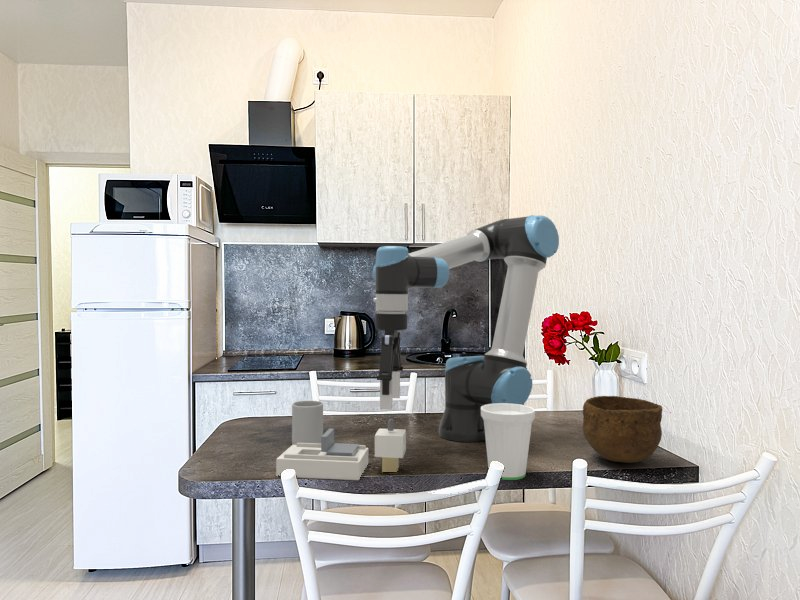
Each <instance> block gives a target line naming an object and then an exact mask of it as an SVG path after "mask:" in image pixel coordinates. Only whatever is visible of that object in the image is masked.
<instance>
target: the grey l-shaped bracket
mask: <svg viewBox="0 0 800 600" xmlns="http://www.w3.org/2000/svg"><path fill="white" fill-rule="evenodd" d="M359 445H360V444H359V443H339V442H335V428H328V429H327V430H326V431H325V432H323V435H322V436H321V452H326V455H330V456H354V455H355V454H356V452H357V451H358V449H359Z"/></svg>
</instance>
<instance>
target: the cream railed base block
mask: <svg viewBox="0 0 800 600" xmlns="http://www.w3.org/2000/svg"><path fill="white" fill-rule="evenodd" d="M275 463H276V464H275V465H276V466H275V468H276V471H275V473H276V477H278V475H279V476H280V473H281V472H282V471H284V470H286V469H294V470H295V471H296V475H297V477H296V478H303V479H320V480H321V479H323V480H345V481H360V479H361V478H360V477H362V476H363V474H364V472H365V471H366V469H367V467H368V466H369V447H367V446H366V445H364V444H359V449H358V451H357V452H356V454H355V455H354V456H330V455H326V452H321V444H320V443H297V445H293V444H292V445H290V446H289V447H288V448H287V449H286V450H285V451H283V452H282V453H281V454H280V455H279V456H278V457H277V458H276V462H275ZM367 465H368V466H367ZM365 468H366V469H365ZM364 470H365V471H364ZM362 473H363V474H362ZM361 475H362V476H361Z"/></svg>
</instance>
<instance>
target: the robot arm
mask: <svg viewBox="0 0 800 600" xmlns="http://www.w3.org/2000/svg"><path fill="white" fill-rule="evenodd" d="M559 245H560V236H559V231H558V229H557V228H556V225H555V223H554V222H553V221H552V220H551V219H550V218H549V217H548V216H545V215H533V214H531V215H528V216H521V217H513V218H505V219H500V220H496V221H494V222H491V223H488V224H486V225H484V226H480V227H478V228H475V229H472V230H469V232H467V234H466V235H464V236H461V237H457V238H455V239H451V240H449V241H445V242H442V243H438V244H436V245H432V246H429V247H425V248H422V249H419V250H416V251H413V252H409V249H408V248H407V246H399V245H385V246H384V245H383V246H380V247H378V248H377V250H376V254H375V255H376V256H375V264H374V266H373V268H372V278H373V280H374V282H375V297H374V298H373V299H372V301H373V303H375V311H376V312H377V313H376V314H375V319H374V321H375V322H374V327H375V330H378V331H379V330H380V331H384V334H383V335H381V339H380V340H381V348H380V361H379V370H378V375H377V376H376V381H379V410H393V399H401V372H403V371H404V366H402V362H401V361H402V358H401V337H400V336H401V333H400V331H406V330H407V328H408V315H407V314H408V313H406V312H408V310H409V309H408V308H409V307H408V306H409V304H408V303H409V294H408V293H409V292H408V291H409V288H414V289H415V288H416V289H418V288H419V289H422V288H423V289H426V288H427V289H436V288H437V289H438V288H443V287H444V286H445V285H446V284H447V283H448V281H449V278H450V269H453V268H456V267H457V268H458V267H459V266H462V265H465V264H468V263H471V262H474V261H475V262H479V263H480V262H484V261H488V260H497V259H498V260H499V259H502V260H503V261H504V262H505V264H506V266H507V271H506V275H505V279H504V284H503V290H502V293H501V294H502V296H501V299H500V304H499V305H500V306H499V310H498V314H497V319H496V325H495V330H494V335H493V338H492V339H493V340H492V346H491V349H490V350H488V351H487V352H485V353H484V355H473V356H471V355H470V356H458V357H457V356H456V357H450V358H448V359H447V360H446V361H445V362H446V363H445V370H444V398H445V399H444V400H445V401H444V403H445V404H444V411H443V414H442V417H441V420H440V422H439V426H438V435H439V437H441V438H443V439H444V440H445V439H446V440H449V441H455V442H468V443H473V442H481V441H486V438H485V428H484V420H483V418H482V417H481V406H484V405H487V404H496V403H509V404H520V405H524V404H525V403H526V402H527V400H528V399H529V398H530V395H531V392H532V389H533V379H532V374H531V372H530V371H529V369H527V365H528V362H527V360H526V359H525V357H524V351H525V346H526V341H527V335H528V330H529V323H530V320H531V315H532V314H531V313H532V308H533V303H534V297H535V293H536V289H537V282H538V278H539V272H540V271H542V270H543V269H544V268H546V265H547V260H548V259H549V258H551V257H553V256H554V255H555V254H556V253H557V252H558V249H559Z"/></svg>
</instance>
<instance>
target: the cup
mask: <svg viewBox="0 0 800 600" xmlns="http://www.w3.org/2000/svg"><path fill="white" fill-rule="evenodd" d="M481 417H482V418H483V420H484V428H485V438H486V440H485V446H486V457H487V458H486V459H487V465H488V468H489V466H490V463H491V462H492V461H498V462H500V463H502V464H503V465H504V467H505V469H504V472H503V474H502V479H501V481H502V480H504V481H517V480H522V479H524V478H525V477H526V474H527V472H526V471H527V465H528V455H529V449H530V448H529V447H530V441H531V433H532V424H533V421H534V420H535V418H536V409H535V408H534V407H531V406H529V405H524V404H522V405H520V404H509V403H496V404H487V405H484V406H481Z"/></svg>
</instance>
